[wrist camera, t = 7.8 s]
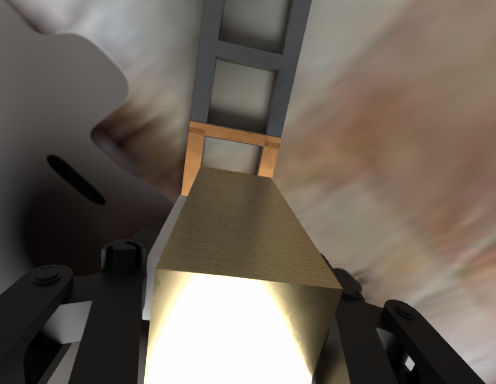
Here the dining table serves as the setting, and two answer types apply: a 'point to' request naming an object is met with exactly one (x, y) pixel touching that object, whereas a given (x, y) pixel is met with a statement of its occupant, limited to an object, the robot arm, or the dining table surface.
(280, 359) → the brass peg
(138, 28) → the dining table surface
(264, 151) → the rail
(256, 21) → the dining table surface
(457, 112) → the dining table surface
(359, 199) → the dining table surface
